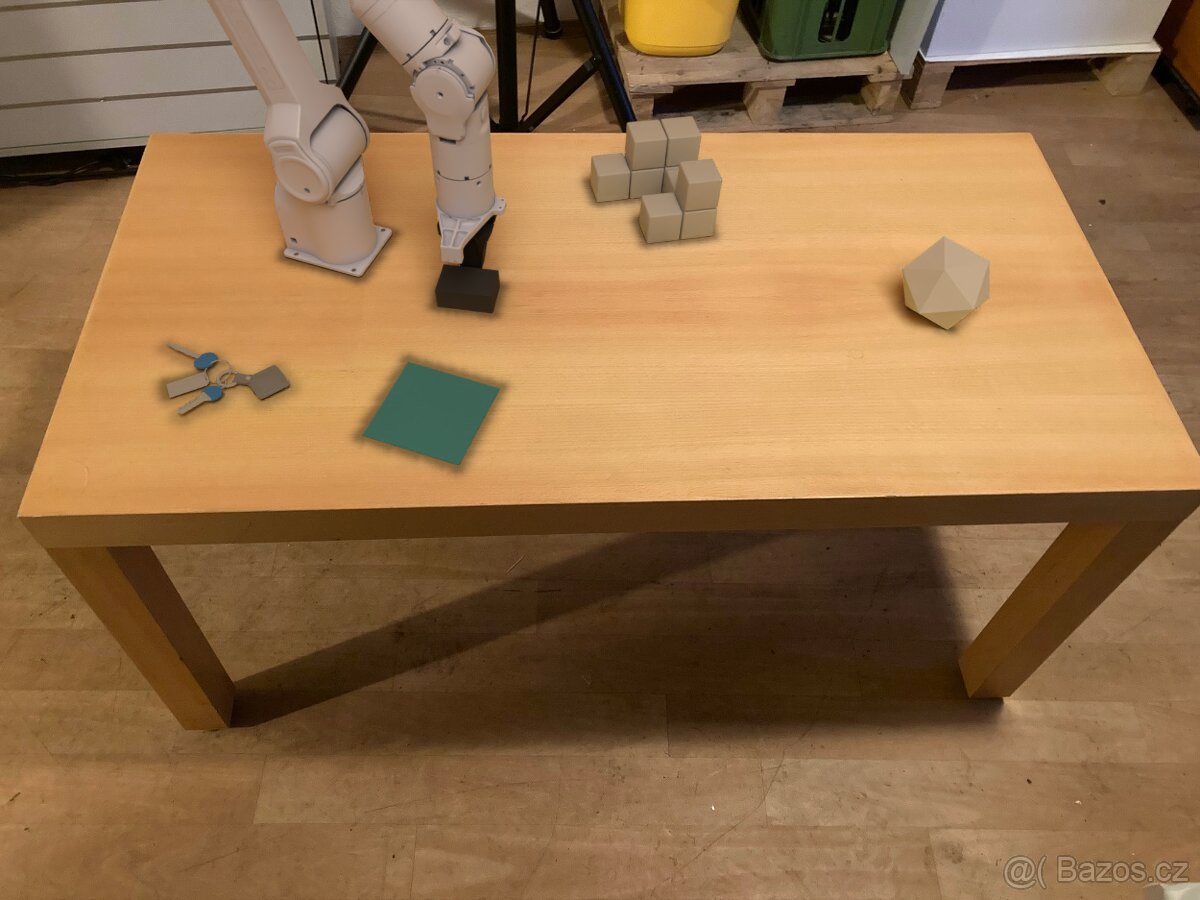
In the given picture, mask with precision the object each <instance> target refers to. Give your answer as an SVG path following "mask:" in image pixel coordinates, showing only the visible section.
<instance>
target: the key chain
mask: <svg viewBox="0 0 1200 900" xmlns="http://www.w3.org/2000/svg"><path fill="white" fill-rule="evenodd" d="M165 345H166V346H167V347H170V348H172V349H173V350H175V351H177V352H180V353H182V354H184V355H185V356H189V357H192V358H194V361H193V366H194V367H195V368H196V369H199V370H202V369H203V370H204V371H202V372H199V373H196V374H193V375H190V376H187V377H184V378H181V379H177V380H174V381H172V382H169V383H166V384H165V385H166V389H167V392H168V397H169V399H171V398H174V397H178V396H181V395H182V394H186V393H189V392H192V391H195V390H199V389H201V388H203V389H202V390H201V391H200V395H199V394H198V395H196V396H195V397H194V399H191V400H188V403H187V402H186V403H184V405H183V406H179V407H178V409H177V410H176V411H177V414H178V415H184V414H185V413H187V412H189V411H190V410H192V409H194V408H195V407H198V406H199V405H200V404H202V403H204V402H214V401H217V400H219V399H220V398H221V397H222V396H223V393H224V391H223V389H225V388H226V389H229V388H233V387H234V386H236V385H245V386H249V388H250V389H251V390H252V391H253V393H254V394H255V395H256V396H257V398H258V399H259V400H264V399H266V398H267V397H270V396H271V395H273V394H275V393H278V392H279V391H282V390H283V389H286V388H287V387H289V386H290V384H291V383H290V381H289V380H288V378H287V377H286V376H285V375H284V374H283V372H282V371H281V370H280V368H279V367H278V366H277V365H275V364H273V365H271V366H269V367H266V368H265V369H262V370H260V371H258V372H256V373H254V374H246V373H241V372H238V371H237V370H235V369H232V365H231V363H230V361H228V360H226V359H219V358H218V355H217V354H216V353H215V352H211V351H210V352H204V353H202V354H200V353H199V352H195V351H192V350H190V349H189V348H186V347H184V346H180V345H179V344H176V343H173V342H171V341H167V342H166V343H165ZM216 362H225V363H226V364H227V365H228V366H229V369H225V370H222V371H220V372H219V373H218V375H217V377H216V381H213V380H211V379H210V378H209V376H208V374H207V370H208V368H211V367H212V366H214V365H215V364H216ZM226 374H228V375H227V376H226V377H225V378H223V379H222V380H221V377H223V376H224V375H226ZM231 374H235V375H234V377H233V380H232V382H231V383H228V381H227V379H228V378H229V377H230V375H231ZM223 382H224V383H223ZM210 383H212V384H217V385H209V384H210Z"/></svg>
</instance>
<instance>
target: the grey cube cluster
mask: <svg viewBox="0 0 1200 900" xmlns="http://www.w3.org/2000/svg"><path fill="white" fill-rule="evenodd" d="M701 142H702V133H701V131H700V129H699V127H698V125H697V122H696V120H695V118H694V116H693V115H689V116H678V117H669V118H661V119H658V118H657V119H649V120H647V119H646V120H638V121H628V122H627V123H626V131H625V141H624V143H625V144H624V153H623V152H617V153H616V152H615V153H606V154H597V155H591V158H590V178H589V179H590V186H591V189H592V192H593V195H594V198H595V200H596V203H605V202H612V201H622V200H623V201H624V200H628V199H629V198H630V199H638V198H639V199H640V206H639V217H638V224H639V226H640V229H641V232H642V234H643V237H644V240H645V241H646V242H645V243H646V244H654V243H663V242H670V241H678V240H688V239H696V238H705V237H712V236H713V235H714V230H715V223H716V218H717V213H718V206H719V202H720V197H721V190H722V185H723V178H722V175H721V174H720V173H721V172H720V171H719V169H718V167H717V165H716V163H715V161H714V159H713V158H704V159H699V155H700V148H701Z"/></svg>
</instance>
